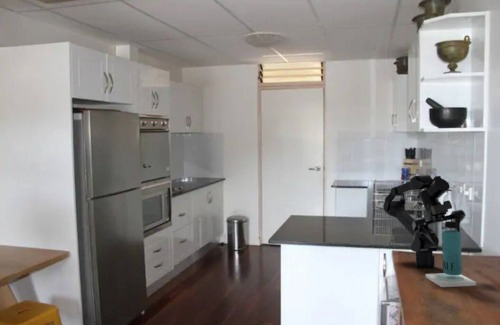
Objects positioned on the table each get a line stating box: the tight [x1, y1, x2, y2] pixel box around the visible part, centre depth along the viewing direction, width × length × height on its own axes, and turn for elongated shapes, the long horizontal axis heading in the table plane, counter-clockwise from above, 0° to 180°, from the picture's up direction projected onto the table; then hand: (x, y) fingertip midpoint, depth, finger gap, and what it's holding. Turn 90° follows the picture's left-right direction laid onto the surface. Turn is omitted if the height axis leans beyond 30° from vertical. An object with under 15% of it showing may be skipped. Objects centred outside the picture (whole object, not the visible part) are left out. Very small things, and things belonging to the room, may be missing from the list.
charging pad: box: [425, 272, 477, 288], centre depth 151 cm, size 12×12×1 cm
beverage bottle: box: [441, 220, 463, 275], centre depth 152 cm, size 6×7×20 cm
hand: (446, 241), depth 158 cm, fingers open, 9 cm apart
